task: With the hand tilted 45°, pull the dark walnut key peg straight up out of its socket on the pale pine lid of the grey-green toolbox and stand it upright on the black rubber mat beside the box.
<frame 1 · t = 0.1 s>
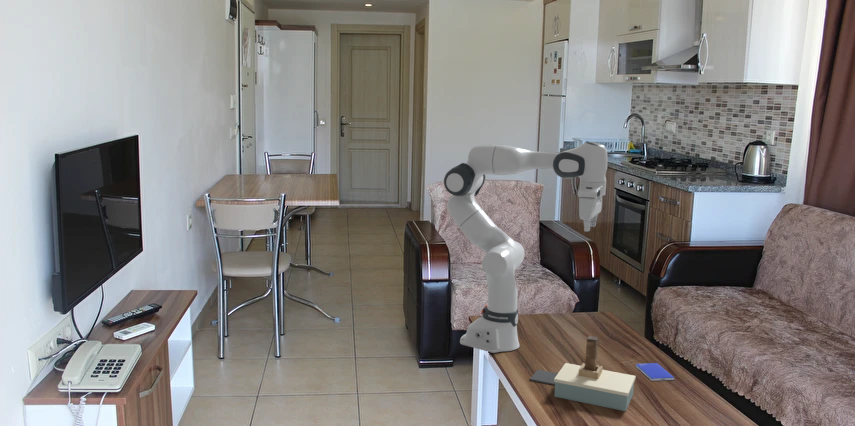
hand: (589, 228, 240), 48 cm above the table, tool pointing down, fingers open, 8 cm apart
hard drive: (654, 375, 238), on the table
walnut key: (590, 373, 221), point 6 cm above the table, touching toolbox
toolbox: (594, 395, 219), on the table
key mat: (546, 378, 232), on the table
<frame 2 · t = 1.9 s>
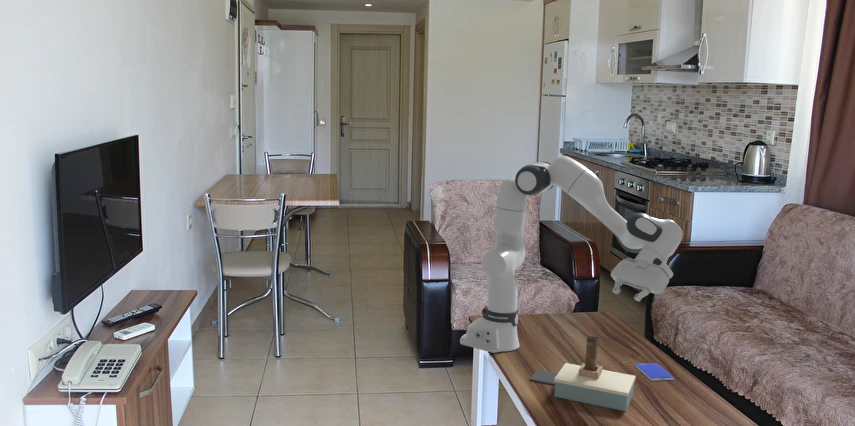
hand: (625, 296, 223), 30 cm above the table, tool tilted 45°, fingers open, 8 cm apart
nothing on the table moved.
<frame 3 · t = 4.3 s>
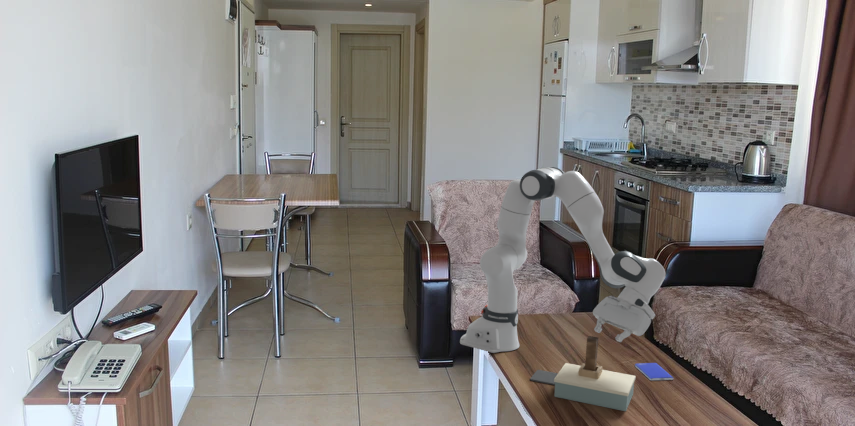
hand: (606, 335, 222), 18 cm above the table, tool tilted 45°, fingers open, 8 cm apart
nothing on the table moved.
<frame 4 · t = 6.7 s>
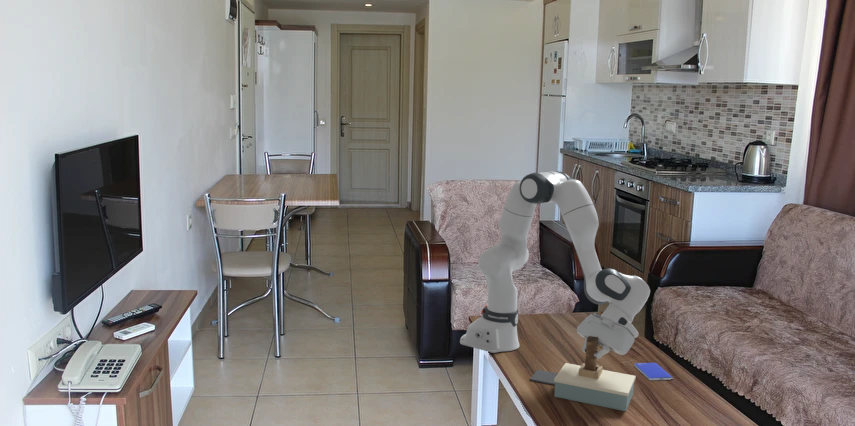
hand: (590, 354, 219), 13 cm above the table, tool tilted 45°, fingers closed on walnut key, 4 cm apart
walnut key: (590, 373, 221), point 6 cm above the table, touching gripper, toolbox
everything else where it was.
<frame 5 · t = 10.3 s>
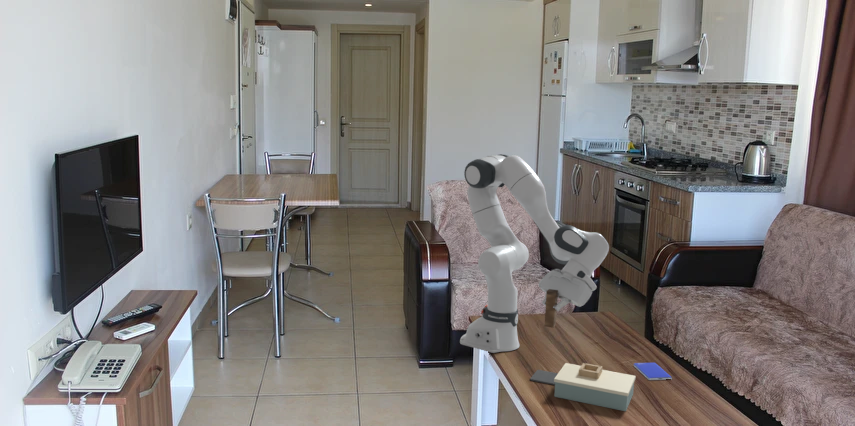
hand: (549, 306, 227), 25 cm above the table, tool tilted 45°, fingers closed on walnut key, 4 cm apart
walnut key: (550, 325, 228), point 18 cm above the table, touching gripper
everything else where it was.
when the fingers open (9 cm above the table, at t = 14.0 s): walnut key drops 2 cm, resting on key mat.
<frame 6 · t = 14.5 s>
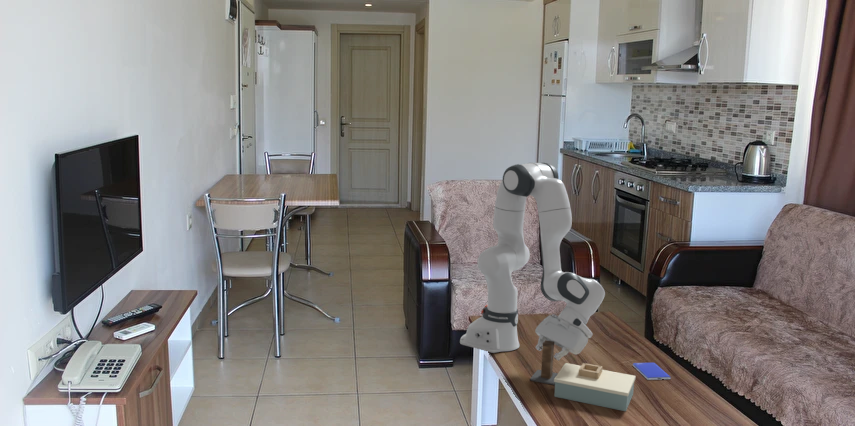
hand: (546, 354, 230), 9 cm above the table, tool tilted 45°, fingers open, 8 cm apart
walnut key: (546, 376, 232), resting on key mat
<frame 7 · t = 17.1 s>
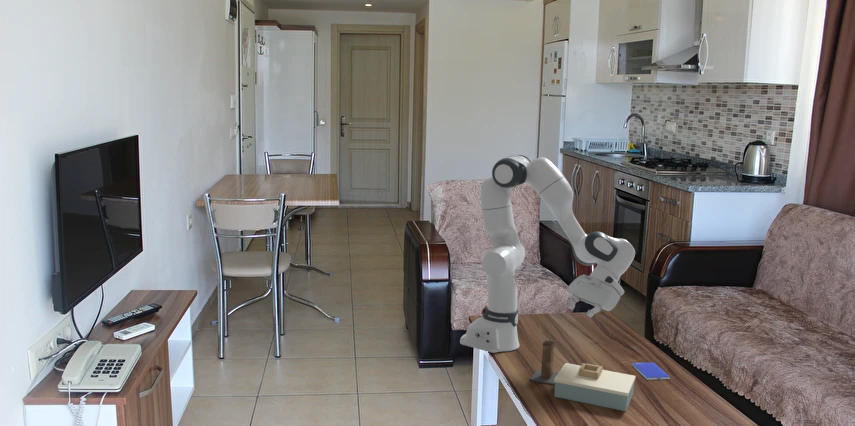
hand: (578, 311, 234), 21 cm above the table, tool tilted 45°, fingers open, 8 cm apart
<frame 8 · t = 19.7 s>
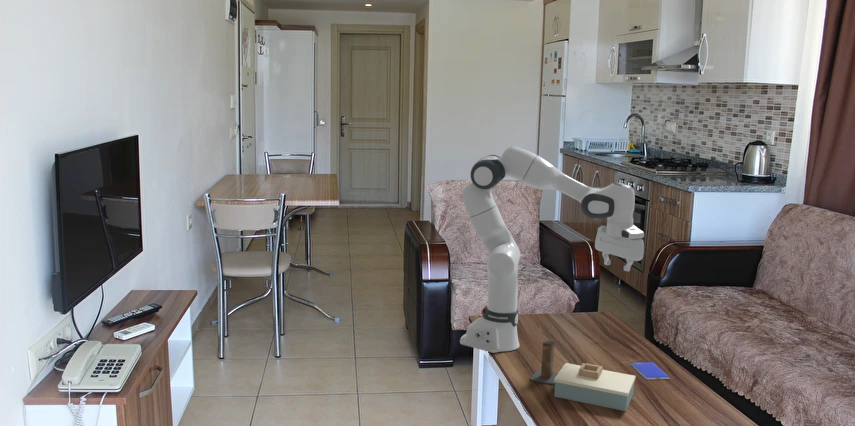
hand: (616, 267, 243), 34 cm above the table, tool pointing down, fingers open, 8 cm apart
at the end: walnut key 0.1 cm from the target spot, point 0.5 cm above the table; walnut key tilted 0°; the gripper is holding nothing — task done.
